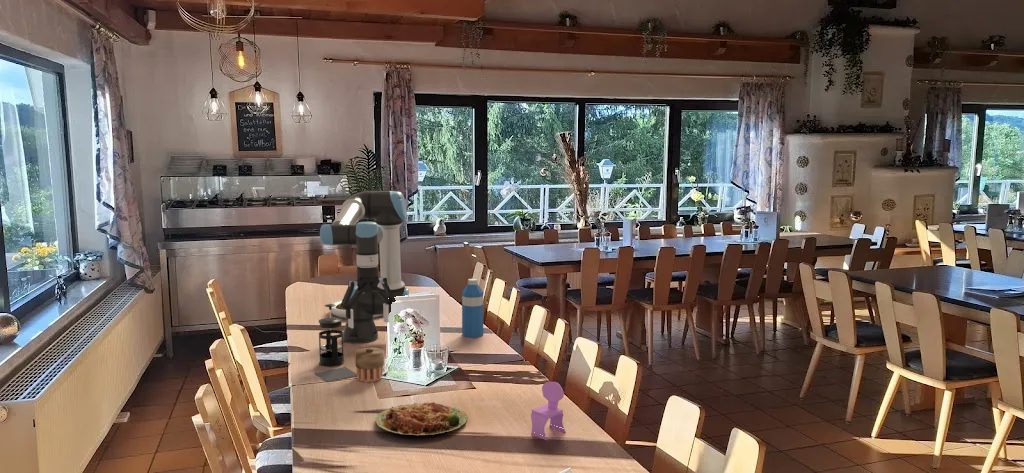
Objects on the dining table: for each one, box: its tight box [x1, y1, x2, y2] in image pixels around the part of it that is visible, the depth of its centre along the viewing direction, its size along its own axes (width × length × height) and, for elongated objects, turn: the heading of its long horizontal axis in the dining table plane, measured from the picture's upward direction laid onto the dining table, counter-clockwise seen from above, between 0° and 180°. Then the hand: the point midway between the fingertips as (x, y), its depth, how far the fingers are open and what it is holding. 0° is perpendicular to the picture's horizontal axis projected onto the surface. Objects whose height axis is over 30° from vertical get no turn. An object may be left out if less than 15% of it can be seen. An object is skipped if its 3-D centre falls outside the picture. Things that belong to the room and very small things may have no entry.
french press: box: [318, 303, 345, 368], centre depth 277 cm, size 12×9×23 cm
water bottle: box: [461, 278, 484, 339], centre depth 319 cm, size 9×9×25 cm
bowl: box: [331, 299, 383, 319], centre depth 361 cm, size 30×30×8 cm
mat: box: [314, 366, 357, 383], centre depth 265 cm, size 12×12×1 cm
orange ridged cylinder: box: [356, 366, 384, 383], centre depth 261 cm, size 9×9×5 cm
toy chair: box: [530, 381, 566, 441], centre depth 211 cm, size 8×9×15 cm
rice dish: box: [375, 402, 468, 436], centre depth 220 cm, size 28×28×5 cm
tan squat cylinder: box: [354, 347, 385, 369], centre depth 260 cm, size 10×10×6 cm
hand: (368, 324), depth 259 cm, fingers open, 13 cm apart
